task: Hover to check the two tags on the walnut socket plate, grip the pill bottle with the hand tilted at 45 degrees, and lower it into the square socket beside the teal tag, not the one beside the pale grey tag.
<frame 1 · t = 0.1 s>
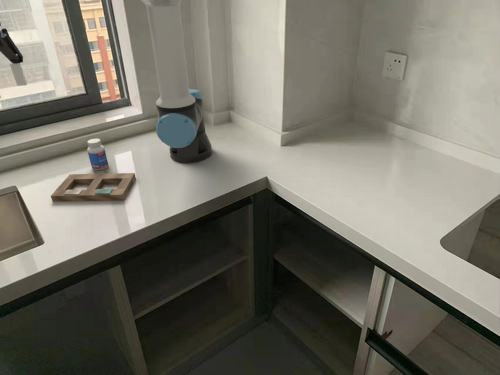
hand: (9, 91, 108), 28 cm above the worktop, tool pointing down, fingers open, 13 cm apart
socket plate: (96, 189, 113), on the worktop
pill bottle: (100, 167, 126), on the worktop
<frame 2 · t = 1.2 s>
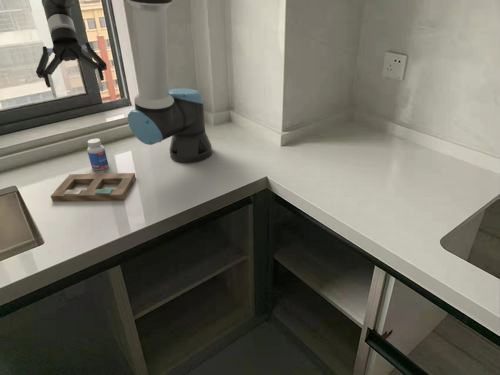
hand: (78, 92, 113), 26 cm above the worktop, tool tilted 45°, fingers open, 13 cm apart
nothing on the worktop moved.
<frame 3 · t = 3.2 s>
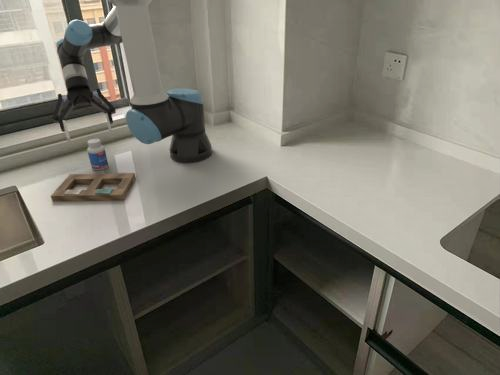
hand: (90, 135, 125), 10 cm above the worktop, tool tilted 45°, fingers open, 13 cm apart
nothing on the worktop moved.
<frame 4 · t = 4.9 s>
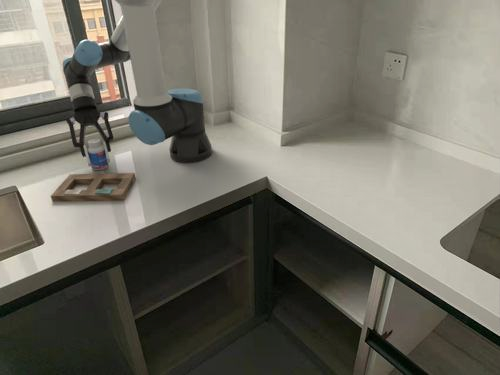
hand: (99, 162, 121), 3 cm above the worktop, tool tilted 45°, fingers closed on pill bottle, 5 cm apart
pill bottle: (100, 167, 126), on the worktop, touching gripper
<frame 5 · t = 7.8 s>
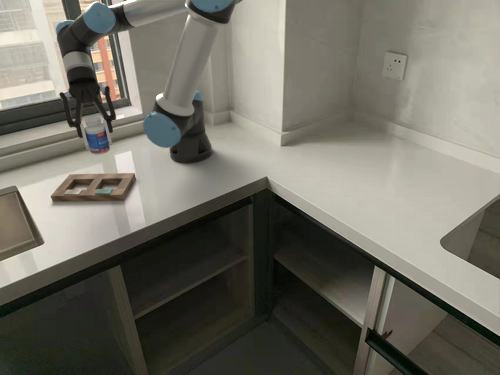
hand: (99, 145, 102), 16 cm above the worktop, tool tilted 45°, fingers closed on pill bottle, 5 cm apart
pill bottle: (100, 151, 107), point 13 cm above the worktop, touching gripper
when the fingers open (5 cm above the worktop, at t = 10.8 s): pill bottle drops 1 cm, resting in socket plate.
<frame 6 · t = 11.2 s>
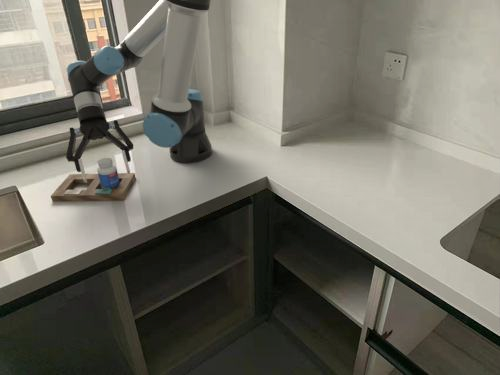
hand: (107, 176, 108), 6 cm above the worktop, tool tilted 45°, fingers open, 11 cm apart
pill bottle: (111, 189, 113), resting in socket plate
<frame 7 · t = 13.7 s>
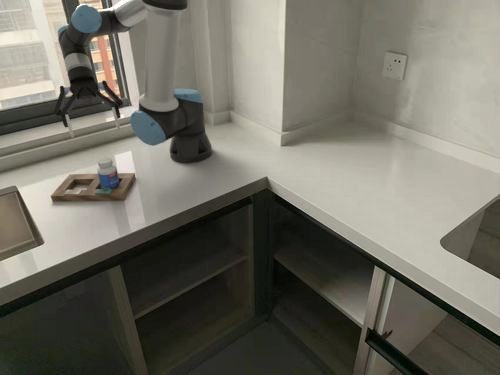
hand: (95, 131, 113), 15 cm above the worktop, tool tilted 45°, fingers open, 13 cm apart
nothing on the worktop moved.
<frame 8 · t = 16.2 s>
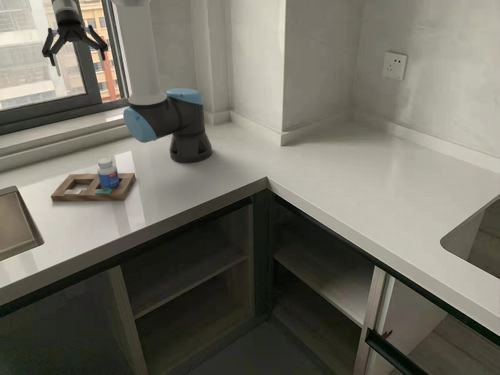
hand: (81, 71, 120), 30 cm above the worktop, tool tilted 45°, fingers open, 13 cm apart
nothing on the worktop moved.
at the end: pill bottle 0.3 cm from the target spot on the socket plate, point 0.0 cm above the socket plate's base; pill bottle tilted 0°; the gripper is holding nothing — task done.
